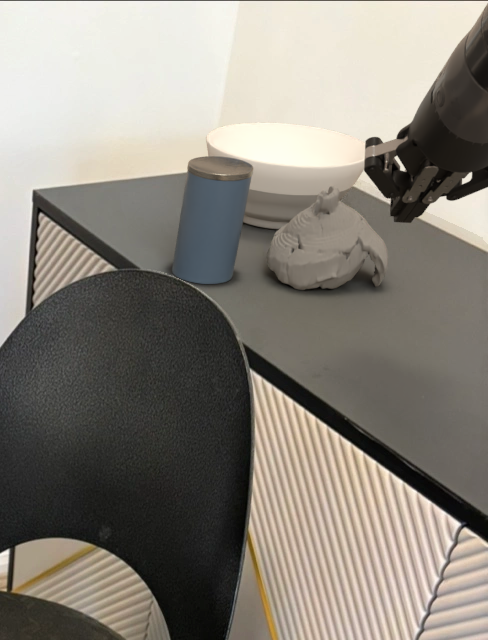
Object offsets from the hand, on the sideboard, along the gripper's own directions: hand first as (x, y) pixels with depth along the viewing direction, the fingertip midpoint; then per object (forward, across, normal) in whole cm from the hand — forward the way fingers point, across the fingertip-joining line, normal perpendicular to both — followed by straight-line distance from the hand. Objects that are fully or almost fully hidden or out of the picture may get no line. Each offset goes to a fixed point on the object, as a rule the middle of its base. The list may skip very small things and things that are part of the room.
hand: (401, 212), depth 100 cm
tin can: (+21, +14, -4) cm, 26 cm away
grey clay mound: (+22, +1, -4) cm, 22 cm away
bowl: (+36, +3, -19) cm, 41 cm away
